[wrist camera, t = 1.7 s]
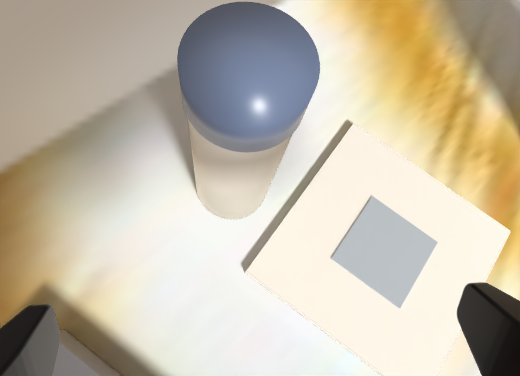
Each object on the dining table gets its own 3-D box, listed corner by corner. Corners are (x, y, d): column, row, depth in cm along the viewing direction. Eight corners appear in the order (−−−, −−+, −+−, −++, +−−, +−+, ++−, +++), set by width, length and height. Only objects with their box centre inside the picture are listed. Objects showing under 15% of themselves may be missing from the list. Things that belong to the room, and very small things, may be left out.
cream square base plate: (505, 232, 25) (512, 230, 24) (418, 403, 21) (423, 405, 21) (351, 126, 26) (354, 122, 25) (244, 272, 22) (245, 271, 22)
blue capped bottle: (282, 179, 24) (345, 53, 13) (239, 236, 23) (266, 153, 11) (224, 137, 24) (235, -21, 13) (179, 191, 23) (146, 68, 12)
